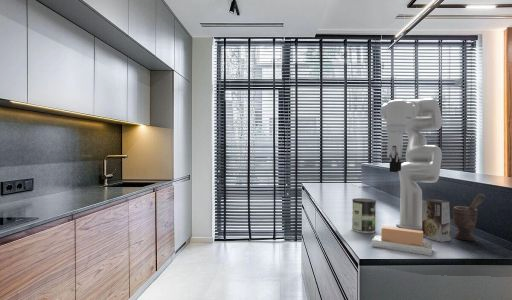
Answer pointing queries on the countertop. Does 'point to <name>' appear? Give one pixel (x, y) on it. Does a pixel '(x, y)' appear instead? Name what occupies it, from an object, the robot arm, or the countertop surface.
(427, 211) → the coffee box
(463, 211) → the mortar and pestle
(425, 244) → the flat gray board
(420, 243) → the orange pronged block
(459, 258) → the countertop surface
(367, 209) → the coffee can
